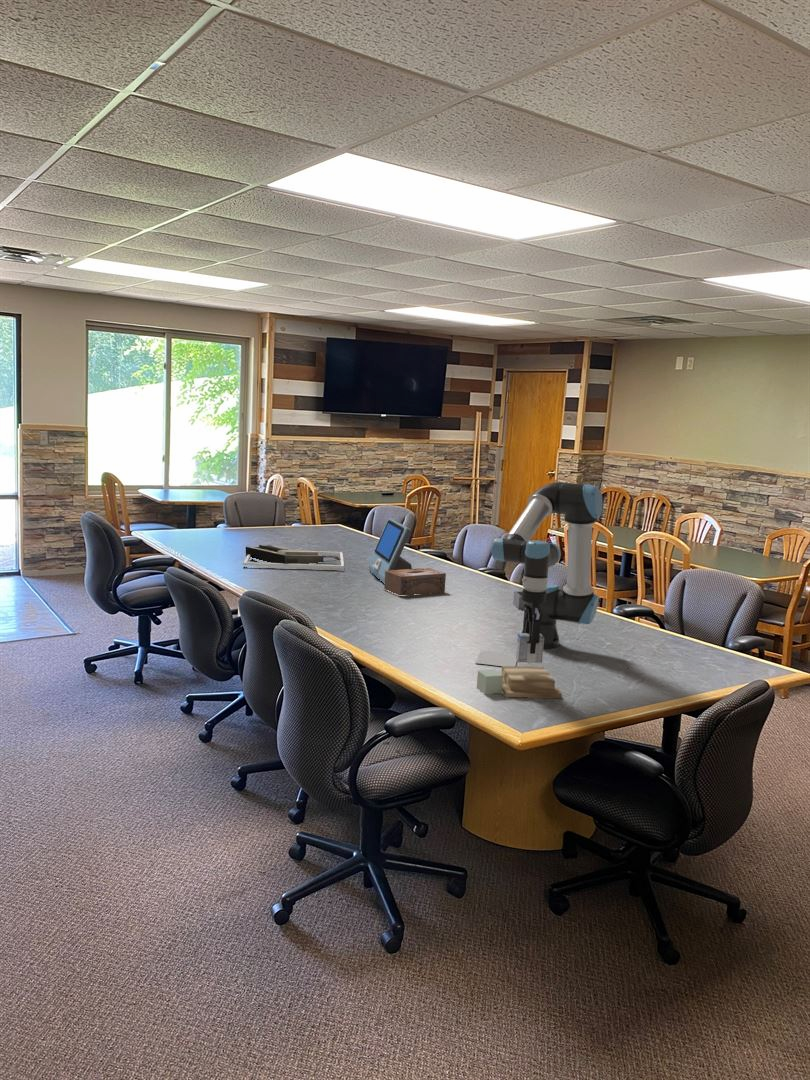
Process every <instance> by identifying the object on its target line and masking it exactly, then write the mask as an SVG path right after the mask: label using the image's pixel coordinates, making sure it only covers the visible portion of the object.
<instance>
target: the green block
mask: <svg viewBox="0 0 810 1080" xmlns="http://www.w3.org/2000/svg"><path fill="white" fill-rule="evenodd" d="M476 679H477V680H476V689H477V690H478V689H479V690H480V691H479V690H478V691H479V692H481V693H482V692H483V693H484V694H483V693H482V694H483V695H485V694H487V695H494V694H493V693H499V694H503V693H502V685H503V675H502V673H500V672H499V671H498V670H496V669H483V670H482V669H481V670H477V678H476Z"/></svg>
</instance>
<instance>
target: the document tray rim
mask: <svg viewBox="0 0 810 1080" xmlns="http://www.w3.org/2000/svg"><path fill="white" fill-rule="evenodd" d="M312 551H313V552H317V551H318V550H317V551H316V550H312ZM321 552H322V553H321ZM317 553H318V554H324V555H325V554H326V555H328V554H329V555H340V559H341V560H339V563H340V562H341V565H340V564H283V563H259V562H255V561H251V562H248V561H249V559H250V555H249V554H248V555H247V557H246V556H245V558H244V560H243V565H256V566H258V565H259V566H287V567H288V566H290V567H314V568H342V569H344V570H345V565H344V564H345V563H344V555H343V551H321V550H319V551H318V552H317Z"/></svg>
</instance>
